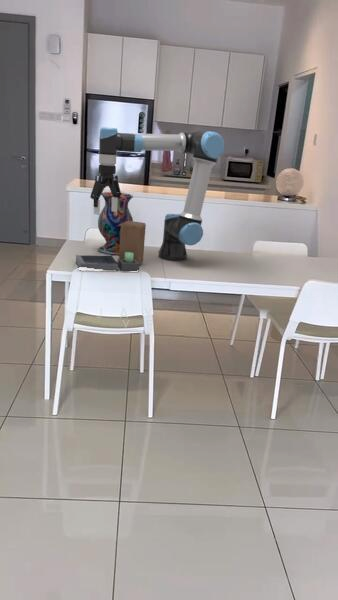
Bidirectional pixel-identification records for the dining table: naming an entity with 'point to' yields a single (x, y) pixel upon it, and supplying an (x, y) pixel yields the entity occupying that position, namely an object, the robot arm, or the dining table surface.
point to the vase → (113, 221)
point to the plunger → (129, 257)
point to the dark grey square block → (128, 265)
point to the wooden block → (132, 240)
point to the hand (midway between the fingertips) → (105, 213)
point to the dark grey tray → (97, 262)
